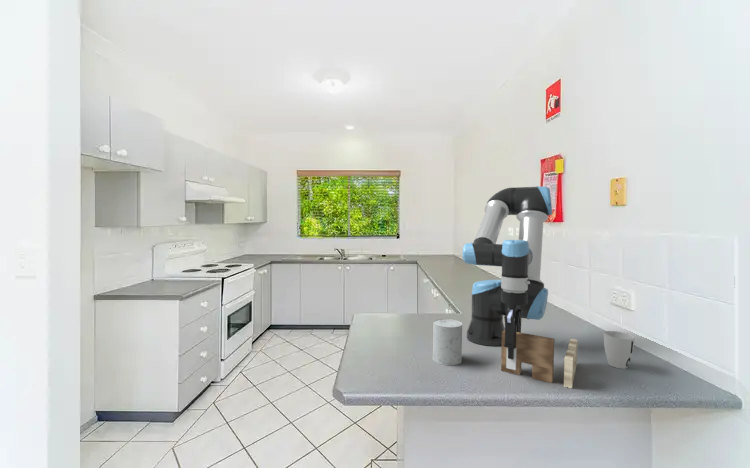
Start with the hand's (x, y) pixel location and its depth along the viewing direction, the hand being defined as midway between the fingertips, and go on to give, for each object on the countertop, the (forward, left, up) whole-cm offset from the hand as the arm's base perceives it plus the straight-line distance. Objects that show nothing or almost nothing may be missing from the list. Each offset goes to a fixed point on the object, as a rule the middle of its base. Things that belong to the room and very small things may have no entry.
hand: (512, 366), depth 104 cm
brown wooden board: (+4, 0, -2) cm, 4 cm away
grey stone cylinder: (-20, -3, -2) cm, 20 cm away
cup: (+27, +25, -2) cm, 37 cm away
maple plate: (+15, +8, -2) cm, 17 cm away
